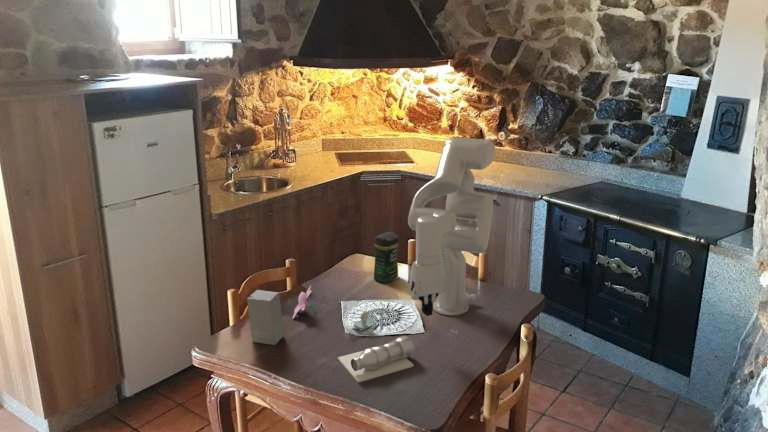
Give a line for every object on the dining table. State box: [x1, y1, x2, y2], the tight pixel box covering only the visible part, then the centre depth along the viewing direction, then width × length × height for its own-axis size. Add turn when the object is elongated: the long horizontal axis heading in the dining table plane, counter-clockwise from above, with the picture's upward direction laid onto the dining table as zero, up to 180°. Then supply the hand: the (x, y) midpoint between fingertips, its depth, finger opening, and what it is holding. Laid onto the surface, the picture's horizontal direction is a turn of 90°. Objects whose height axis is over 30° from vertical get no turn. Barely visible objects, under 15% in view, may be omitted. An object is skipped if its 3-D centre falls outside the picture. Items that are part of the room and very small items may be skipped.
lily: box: [292, 285, 317, 319], centre depth 210 cm, size 12×12×10 cm
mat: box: [337, 350, 414, 383], centre depth 181 cm, size 18×14×1 cm
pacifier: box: [351, 310, 375, 330], centre depth 201 cm, size 7×6×6 cm
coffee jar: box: [373, 231, 400, 283], centre depth 237 cm, size 10×8×19 cm
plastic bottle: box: [351, 335, 416, 371], centre depth 178 cm, size 6×7×20 cm
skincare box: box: [246, 289, 285, 346], centre depth 191 cm, size 8×7×16 cm
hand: (427, 313), depth 185 cm, fingers closed
